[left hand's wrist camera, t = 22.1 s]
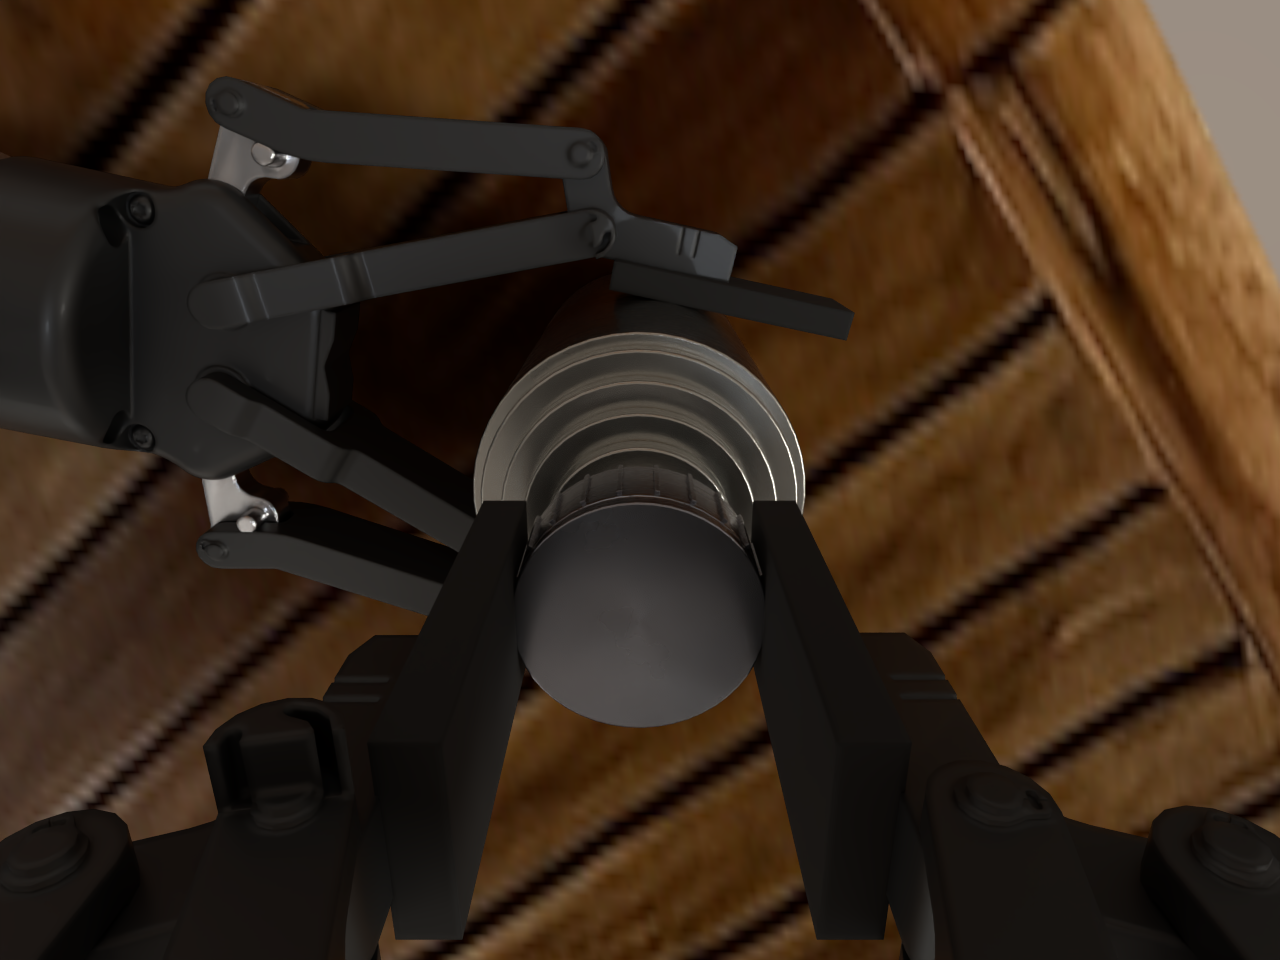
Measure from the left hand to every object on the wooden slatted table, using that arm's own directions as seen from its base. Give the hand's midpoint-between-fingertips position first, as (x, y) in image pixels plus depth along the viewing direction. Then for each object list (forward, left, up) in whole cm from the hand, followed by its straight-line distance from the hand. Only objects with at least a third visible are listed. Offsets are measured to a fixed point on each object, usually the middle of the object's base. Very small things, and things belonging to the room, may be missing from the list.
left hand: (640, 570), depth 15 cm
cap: (0, 0, +1) cm, 1 cm away
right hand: (+3, -4, -10) cm, 11 cm away
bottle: (0, 0, -16) cm, 16 cm away
